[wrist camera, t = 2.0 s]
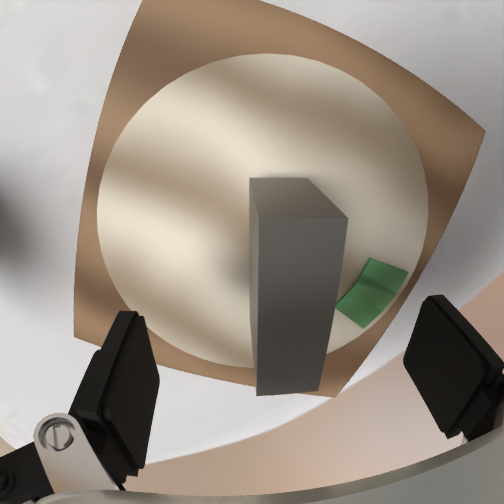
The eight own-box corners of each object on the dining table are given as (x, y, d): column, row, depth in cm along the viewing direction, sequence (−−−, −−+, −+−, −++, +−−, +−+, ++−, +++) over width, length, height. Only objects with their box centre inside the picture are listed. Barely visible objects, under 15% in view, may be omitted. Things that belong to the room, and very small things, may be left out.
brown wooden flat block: (165, -4, 12) (151, -27, 9) (457, 125, 16) (491, 132, 13) (88, 311, 21) (71, 342, 18) (326, 371, 25) (336, 402, 22)
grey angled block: (247, 172, 13) (258, 218, 8) (301, 172, 14) (348, 218, 8) (249, 362, 18) (255, 448, 13) (287, 360, 19) (304, 443, 13)
